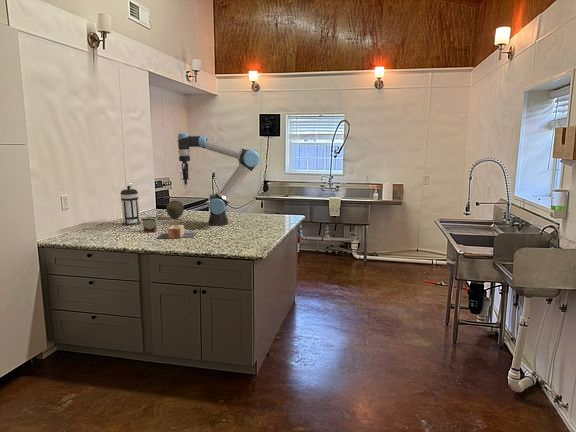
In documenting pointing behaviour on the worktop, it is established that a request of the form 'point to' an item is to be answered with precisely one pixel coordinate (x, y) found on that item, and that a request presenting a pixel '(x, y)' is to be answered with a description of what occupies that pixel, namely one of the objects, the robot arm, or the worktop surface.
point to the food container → (149, 224)
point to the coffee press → (130, 206)
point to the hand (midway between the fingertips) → (186, 188)
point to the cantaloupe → (175, 209)
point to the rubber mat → (185, 235)
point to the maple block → (176, 231)
